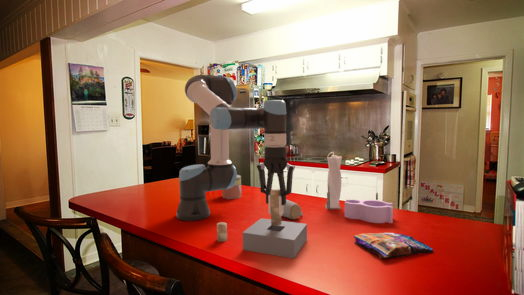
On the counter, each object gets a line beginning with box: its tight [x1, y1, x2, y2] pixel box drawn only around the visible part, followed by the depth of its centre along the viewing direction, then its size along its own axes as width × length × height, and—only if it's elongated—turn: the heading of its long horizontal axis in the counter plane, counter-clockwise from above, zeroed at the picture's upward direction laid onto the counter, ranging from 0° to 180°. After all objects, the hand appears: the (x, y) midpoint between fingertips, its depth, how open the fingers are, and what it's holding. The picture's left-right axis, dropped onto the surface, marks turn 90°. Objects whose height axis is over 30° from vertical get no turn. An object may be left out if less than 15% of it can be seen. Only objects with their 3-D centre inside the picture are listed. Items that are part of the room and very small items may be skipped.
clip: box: [344, 198, 394, 224], centre depth 132 cm, size 20×12×7 cm, turn 67°
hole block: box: [242, 218, 308, 259], centre depth 103 cm, size 18×16×6 cm
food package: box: [353, 232, 434, 259], centre depth 101 cm, size 22×25×4 cm
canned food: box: [221, 174, 242, 200], centre depth 173 cm, size 11×11×12 cm
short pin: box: [216, 221, 228, 243], centre depth 108 cm, size 4×4×6 cm
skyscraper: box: [324, 151, 343, 210], centre depth 149 cm, size 8×8×28 cm
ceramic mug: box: [281, 199, 304, 220], centre depth 134 cm, size 11×8×8 cm
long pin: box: [270, 188, 282, 226], centre depth 102 cm, size 4×4×12 cm
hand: (276, 213), depth 103 cm, fingers closed on long pin, 3 cm apart
